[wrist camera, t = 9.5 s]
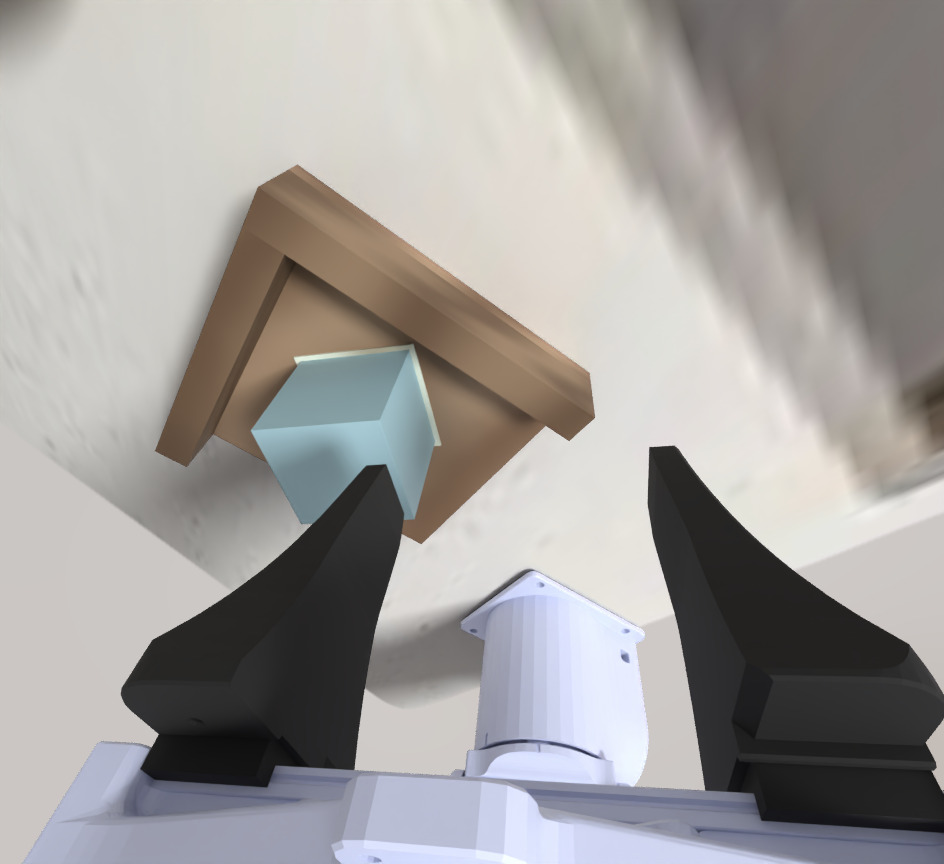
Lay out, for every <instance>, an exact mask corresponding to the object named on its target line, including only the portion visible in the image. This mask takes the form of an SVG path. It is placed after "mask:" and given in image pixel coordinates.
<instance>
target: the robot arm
mask: <svg viewBox="0 0 944 864" xmlns="http://www.w3.org/2000/svg"><path fill="white" fill-rule="evenodd" d="M648 509H649V515H650V522H651V528H652V534H653V539H654V543H655V546H656V550H657V553H658V557H659V560H660V564H661V567H662V571H663V574H664V578H665V581H666V585H667V588H668V592H669V595H670V599H671V602H672V605H673V609H674V612H675V616H676V620H677V624H678V629H679V634H680V639H681V644H682V650H683V655H684V661H685V666H686V672H687V677H688V684H689V690H690V696H691V701H692V706H693V713H694V719H695V726H696V732H697V738H698V745H699V751H700V758H701V764H702V771H703V778H704V785H705V791H702V790H686V789H685V790H684V789H668V788H650V787H634V785H635V784H636V782H637V781H638V779H639V778H640V776H641V773H642V771H643V768H644V765H645V762H646V757H647V752H648V727H647V720H646V714H645V706H644V699H643V693H642V686H641V679H640V672H639V665H638V659H637V652H636V645H635V644H636V643H638V642H640V641H641V640H643V639H644V638H645V634H644V631H643V630H642V629H640V628H638V627H637V626H635V625H633V624H631V623H629V622H627V621H626V620H624V619H622V618H620V617H618V616H617V615H615V614H613V613H611V612H609V611H608V610H606V609H604V608H602V607H600V606H598V605H597V604H595V603H593V602H591V601H589V600H588V599H586V598H584V597H582V596H580V595H578V594H577V593H575V592H573V591H571V590H569V589H568V588H566V587H564V586H562V585H560V584H559V583H557V582H555V581H553V580H551V579H549V578H548V577H546V576H544V575H542V574H540V573H539V572H536V571H531V572H528V573H526V574H525V575H524V576H522V577H521V578H520V579H518V580H517V581H515V582H514V583H513V584H511V585H510V586H509V587H507V588H506V589H505V590H503V591H502V592H500V593H499V594H498V595H496V596H495V597H494V598H492V599H491V600H489V601H488V602H487V603H485V604H484V605H483V606H481V607H480V608H479V609H477V610H476V611H474V612H473V613H472V614H470V615H469V616H468V617H466V618H465V619H464V620H462V621H461V629H462V630H464V631H466V632H468V633H470V634H472V635H474V636H476V637H478V638H480V639H482V640H484V641H485V645H484V655H483V666H482V676H481V686H480V696H479V707H478V717H477V727H476V737H475V747H474V750H468V751H467V759H466V768H465V770H459V769H456V770H454V771H453V772H452V773H451V775H450V776H444V775H427V774H426V775H425V774H410V773H392V772H374V771H358V770H354V768H355V759H356V750H357V740H358V731H359V724H360V717H361V709H362V703H363V695H364V689H365V683H366V677H367V671H368V665H369V659H370V654H371V649H372V644H373V638H374V633H375V629H376V625H377V621H378V617H379V613H380V610H381V607H382V603H383V600H384V597H385V593H386V590H387V587H388V583H389V580H390V577H391V574H392V570H393V567H394V563H395V560H396V557H397V553H398V550H399V546H400V540H401V534H402V528H403V521H404V511H403V509H402V506H401V503H400V500H399V498H398V495H397V492H396V489H395V487H394V484H393V481H392V478H391V476H390V473H389V470H388V467H387V465H386V464H380V465H366V466H365V467H364V468H363V470H362V471H361V472H360V473H359V474H358V475H357V476H356V477H355V478H354V480H353V481H352V482H351V483H350V484H349V485H348V486H347V487H346V489H345V490H344V491H343V492H342V493H341V494H340V495H339V497H338V498H337V499H336V500H335V501H334V502H333V503H332V504H331V505H330V506H329V508H328V509H327V510H326V511H325V512H324V513H323V514H322V515H321V516H320V517H319V518H318V519H317V520H316V521H315V522H314V523H313V524H312V525H311V526H310V527H309V528H308V529H307V530H306V531H305V532H304V533H303V534H302V535H301V536H300V537H299V538H298V539H297V540H296V541H295V542H294V543H293V544H292V545H291V546H290V547H289V548H288V549H287V550H285V551H284V552H283V553H282V554H281V555H280V556H279V557H277V558H276V559H275V560H274V561H273V562H271V563H270V564H269V565H268V566H267V567H265V568H264V569H263V570H262V571H260V572H259V573H258V574H256V575H255V576H254V577H252V578H251V579H250V580H248V581H247V582H246V583H244V584H243V585H242V586H240V587H239V588H238V589H236V590H235V591H233V592H232V593H231V594H229V595H228V596H226V597H225V598H223V599H222V600H220V601H219V602H217V603H216V604H214V605H212V606H211V607H209V608H208V609H206V610H205V611H203V612H202V613H200V614H198V615H196V616H195V617H193V618H191V619H190V620H188V621H186V622H184V623H183V624H181V625H179V626H177V627H175V628H174V629H172V630H170V631H168V632H166V633H165V634H163V635H161V636H159V637H157V638H155V639H153V640H152V642H151V643H150V645H149V646H148V648H147V649H146V651H145V652H144V654H143V656H142V657H141V659H140V660H139V662H138V663H137V665H136V667H135V668H134V670H133V671H132V673H131V675H130V676H129V678H128V679H127V681H126V682H125V684H124V685H123V687H122V690H121V696H122V699H123V701H124V703H125V705H126V706H127V707H128V708H129V709H130V710H131V711H132V712H133V713H134V714H136V715H137V716H138V717H139V718H140V719H142V720H143V721H144V722H145V723H146V724H148V725H149V726H150V727H151V728H152V729H154V730H155V731H156V732H157V733H158V734H159V735H158V737H157V739H156V741H155V743H154V744H153V746H152V748H151V747H149V746H146V745H143V744H138V743H125V742H104V741H102V742H99V743H97V745H96V746H95V748H94V750H93V751H92V753H91V754H90V756H89V757H88V759H87V761H86V762H85V764H84V765H83V767H82V769H81V770H80V772H79V773H78V775H77V777H76V778H75V780H74V782H73V783H72V785H71V786H70V788H69V790H68V791H67V793H66V794H65V796H64V798H63V799H62V801H61V802H60V804H59V805H58V807H57V809H56V810H55V812H54V814H53V815H52V817H51V818H50V820H49V822H48V823H47V825H46V827H45V828H44V830H43V831H42V833H41V834H40V836H39V838H38V839H37V841H36V842H35V844H34V846H33V848H32V849H31V851H30V852H29V854H28V855H27V857H26V859H25V860H24V862H23V863H22V864H944V790H943V791H942V790H941V789H940V786H939V785H938V783H937V781H936V779H935V777H934V775H933V773H932V771H931V770H935V769H936V762H935V760H934V758H933V756H932V754H931V752H930V750H929V749H928V747H927V745H926V741H927V740H928V739H929V737H930V736H931V735H932V733H933V732H934V731H935V730H936V728H937V727H938V726H939V725H940V723H941V722H942V720H943V719H944V694H943V693H942V691H941V689H940V688H939V686H938V684H937V682H936V681H935V679H934V678H933V676H932V675H931V673H930V672H929V670H928V669H927V668H926V666H925V665H924V663H923V662H922V661H921V659H920V658H919V657H918V656H917V654H916V653H915V652H914V650H913V649H912V648H911V646H910V645H909V644H907V643H906V642H904V641H902V640H901V639H899V638H897V637H895V636H894V635H892V634H890V633H888V632H887V631H885V630H883V629H881V628H880V627H878V626H876V625H874V624H872V623H871V622H869V621H867V620H866V619H864V618H862V617H860V616H859V615H857V614H856V613H854V612H852V611H851V610H849V609H848V608H846V607H845V606H843V605H842V604H840V603H838V602H837V601H835V600H834V599H832V598H831V597H829V596H828V595H826V594H825V593H823V592H822V591H821V590H820V589H818V588H816V587H815V586H814V585H813V584H811V583H810V582H808V581H807V580H806V579H804V578H803V577H801V576H800V575H799V574H797V573H796V572H795V571H793V570H792V569H791V568H790V567H788V566H787V565H786V564H785V563H784V562H782V561H781V560H780V559H779V558H777V557H776V556H775V555H774V554H773V553H772V552H770V551H769V550H768V549H767V548H766V547H765V546H763V545H762V544H761V543H760V542H759V541H758V540H757V539H756V538H755V537H754V536H753V535H751V534H750V533H749V532H748V531H747V530H746V529H745V528H744V527H743V526H742V525H741V524H740V523H739V522H738V521H737V520H736V519H735V518H734V517H733V516H732V515H731V514H730V512H729V511H728V510H727V509H726V508H725V507H724V506H723V505H722V504H721V503H720V502H719V500H718V499H717V498H716V497H715V496H714V495H713V494H712V492H711V491H710V490H709V489H708V488H707V487H706V485H705V484H704V483H703V482H702V480H701V479H700V478H699V477H698V475H697V474H696V473H695V472H694V470H693V469H692V468H691V466H690V465H689V464H688V462H687V461H686V459H685V458H684V456H683V455H682V454H681V452H680V451H679V449H678V448H677V447H675V446H662V447H649V477H648Z"/></svg>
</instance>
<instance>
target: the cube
mask: <svg viewBox="0 0 944 864" xmlns="http://www.w3.org/2000/svg"><path fill="white" fill-rule="evenodd" d="M251 432H252V434H253V436H254V438H255V439H256V441H257V443H258V445H259V447H260V449H261V451H262V452H263V454H264V456H265V458H266V460H267V462H268V464H269V465H270V467H271V469H272V471H273V473H274V475H275V477H276V478H277V480H278V482H279V484H280V486H281V488H282V489H283V491H284V493H285V495H286V497H287V499H288V501H289V502H290V504H291V506H292V508H293V510H294V512H295V514H296V515H297V517H298V519H299V521H300V523H301V524H313V523H314V522H315V521H316V520H317V519H318V518H319V517H320V516H321V515H322V514H323V513H324V512H325V511H326V510H327V509H328V508H329V506H330V505H331V504H332V503H333V502H334V501H335V500H336V499H337V498H338V497H339V495H340V494H341V493H342V492H343V491H344V490H345V489H346V487H347V486H348V485H349V484H350V483H351V482H352V481H353V480H354V478H355V477H356V476H357V475H358V474H359V473H360V472H361V471H362V470H363V468H364V467H365V466H366V465H380V464H386V465H387V467H388V470H389V473H390V476H391V478H392V481H393V484H394V487H395V489H396V492H397V495H398V498H399V500H400V503H401V506H402V509H403V511H404V520H411V519H415V516H416V512H417V508H418V504H419V501H420V497H421V493H422V489H423V486H424V482H425V478H426V474H427V470H428V467H429V463H430V459H431V455H432V452H433V448H434V444H435V439H434V436H433V432H432V429H431V425H430V422H429V418H428V414H427V411H426V407H425V404H424V400H423V397H422V393H421V389H420V386H419V382H418V379H417V375H416V372H415V368H414V364H413V361H412V357H411V354H410V350H401V351H392V352H383V353H373V354H364V355H355V356H346V357H336V358H327V359H318V360H308V361H301V362H300V363H299V365H298V366H297V367H296V369H295V370H294V372H293V373H292V374H291V376H290V377H289V378H288V380H287V381H286V383H285V384H284V385H283V387H282V388H281V389H280V391H279V392H278V394H277V395H276V396H275V398H274V399H273V400H272V402H271V403H270V405H269V406H268V407H267V409H266V410H265V412H264V413H263V414H262V416H261V417H260V418H259V420H258V421H257V423H256V424H255V425H254V427H253V428H252V429H251Z"/></svg>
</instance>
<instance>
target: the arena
mask: <svg viewBox="0 0 944 864" xmlns="http://www.w3.org/2000/svg"><path fill="white" fill-rule="evenodd" d="M401 350H410V354H411V357H412V361H413V364H414V368H415V372H416V375H417V379H418V382H419V386H420V389H421V393H422V397H423V400H424V404H425V407H426V411H427V414H428V418H429V422H430V425H431V429H432V432H433V436H434V439H435V444H434V448H433V452H432V455H431V459H430V463H429V467H428V470H427V474H426V478H425V482H424V486H423V489H422V493H421V497H420V501H419V504H418V508H417V512H416V516H415V519H411V520H404V521H403V528H402V534H403V535H405V536H407V537H409V538H411V539H413V540H415V541H416V542H418V543H420V544H422V543H423V542H424V541H425V540H426V539H427V538H428V537H429V536H430V535H431V534H432V533H434V532H435V531H436V530H437V529H438V528H439V527H440V526H441V525H442V524H443V523H444V522H445V521H446V520H447V519H448V518H449V517H450V516H451V515H452V514H454V513H455V512H456V511H457V510H458V509H459V508H460V507H461V506H462V505H463V504H464V503H465V502H466V501H467V500H468V499H469V498H470V497H471V496H472V495H473V494H475V493H476V492H477V491H478V490H479V489H480V488H481V487H482V486H483V485H484V484H485V483H486V482H487V481H488V480H489V479H490V478H491V477H492V476H493V475H494V474H496V473H497V472H498V471H499V470H500V469H501V468H502V467H503V466H504V465H505V464H506V463H507V462H508V461H509V460H510V459H511V458H512V457H513V456H514V455H515V454H517V453H518V452H519V451H520V450H521V449H522V448H523V447H524V446H525V445H526V444H527V443H528V442H529V441H530V440H531V439H532V438H533V437H534V436H535V435H536V434H538V433H539V432H540V431H541V430H542V429H543V428H544V427H545V426H547V427H549V428H550V429H552V430H553V431H555V432H556V433H558V434H559V435H561V436H562V437H564V438H565V439H567V440H568V441H570V440H571V439H572V438H573V437H574V436H575V435H576V434H577V433H578V432H580V431H581V430H582V429H583V428H584V427H585V426H586V425H587V424H589V423H590V422H591V421H592V420H593V419H594V418H595V413H594V405H593V397H592V389H591V381H590V373H589V372H587V371H586V370H584V369H583V368H582V367H580V366H579V365H577V364H576V363H575V362H573V361H572V360H570V359H569V358H568V357H566V356H565V355H563V354H562V353H561V352H559V351H558V350H556V349H555V348H554V347H552V346H551V345H549V344H548V343H547V342H545V341H544V340H542V339H541V338H540V337H538V336H537V335H535V334H534V333H533V332H531V331H530V330H528V329H527V328H526V327H524V326H523V325H521V324H520V323H519V322H517V321H516V320H514V319H513V318H512V317H510V316H509V315H507V314H506V313H505V312H503V311H502V310H500V309H499V308H498V307H496V306H495V305H493V304H492V303H491V302H489V301H488V300H486V299H485V298H484V297H482V296H481V295H479V294H478V293H477V292H475V291H474V290H472V289H471V288H470V287H468V286H467V285H465V284H464V283H463V282H461V281H460V280H458V279H457V278H456V277H454V276H453V275H451V274H450V273H449V272H447V271H446V270H444V269H443V268H441V267H440V266H439V265H437V264H436V263H434V262H433V261H432V260H430V259H429V258H427V257H426V256H425V255H423V254H422V253H420V252H419V251H418V250H416V249H415V248H413V247H412V246H411V245H409V244H408V243H406V242H405V241H404V240H402V239H401V238H399V237H398V236H397V235H395V234H394V233H392V232H391V231H390V230H388V229H387V228H385V227H384V226H383V225H381V224H380V223H378V222H377V221H376V220H374V219H373V218H371V217H370V216H369V215H367V214H366V213H364V212H363V211H362V210H360V209H359V208H357V207H356V206H355V205H353V204H352V203H350V202H349V201H348V200H346V199H345V198H343V197H342V196H341V195H339V194H338V193H336V192H335V191H334V190H332V189H331V188H329V187H328V186H327V185H325V184H324V183H322V182H321V181H320V180H318V179H317V178H315V177H314V176H313V175H311V174H310V173H308V172H307V171H306V170H304V169H303V168H301V167H300V166H298V165H296V166H294V167H293V168H291V169H289V170H287V171H286V172H284V173H282V174H280V175H279V176H277V177H275V178H273V179H271V180H270V181H268V182H266V183H264V184H263V185H261V186H259V187H258V188H257V191H256V194H255V196H254V199H253V201H252V204H251V206H250V209H249V211H248V214H247V217H246V219H245V222H244V224H243V227H242V229H241V232H240V235H239V237H238V240H237V242H236V245H235V247H234V250H233V252H232V255H231V258H230V260H229V263H228V265H227V268H226V270H225V273H224V276H223V278H222V281H221V283H220V286H219V288H218V291H217V293H216V296H215V299H214V301H213V304H212V306H211V309H210V311H209V314H208V317H207V319H206V322H205V324H204V327H203V329H202V332H201V334H200V337H199V340H198V342H197V345H196V347H195V350H194V352H193V355H192V358H191V360H190V363H189V365H188V368H187V370H186V373H185V375H184V378H183V381H182V383H181V386H180V388H179V391H178V393H177V396H176V399H175V401H174V404H173V406H172V409H171V411H170V414H169V417H168V419H167V422H166V424H165V427H164V429H163V432H162V434H161V437H160V440H159V442H158V445H157V447H156V450H155V451H156V452H158V453H160V454H162V455H164V456H166V457H168V458H170V459H172V460H174V461H176V462H178V463H180V464H182V465H184V466H186V467H187V466H188V465H189V463H190V462H191V461H192V460H193V458H194V457H195V456H196V455H197V453H198V452H199V451H200V450H201V449H202V447H203V446H204V445H205V444H206V442H207V441H208V440H209V439H210V437H211V436H212V435H213V434H214V435H216V436H218V437H220V438H221V439H223V440H225V441H227V442H229V443H231V444H233V445H235V446H237V447H238V448H240V449H242V450H244V451H246V452H248V453H250V454H252V455H254V456H255V457H257V458H259V459H261V460H263V461H265V462H267V460H266V458H265V456H264V454H263V452H262V451H261V449H260V447H259V445H258V443H257V441H256V439H255V438H254V436H253V434H252V432H251V429H252V428H253V427H254V425H255V424H256V423H257V421H258V420H259V418H260V417H261V416H262V414H263V413H264V412H265V410H266V409H267V407H268V406H269V405H270V403H271V402H272V400H273V399H274V398H275V396H276V395H277V394H278V392H279V391H280V389H281V388H282V387H283V385H284V384H285V383H286V381H287V380H288V378H289V377H290V376H291V374H292V373H293V372H294V370H295V369H296V367H297V366H298V365H299V363H300V362H301V361H308V360H318V359H327V358H336V357H346V356H355V355H364V354H373V353H383V352H392V351H401ZM267 463H268V462H267Z"/></svg>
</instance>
